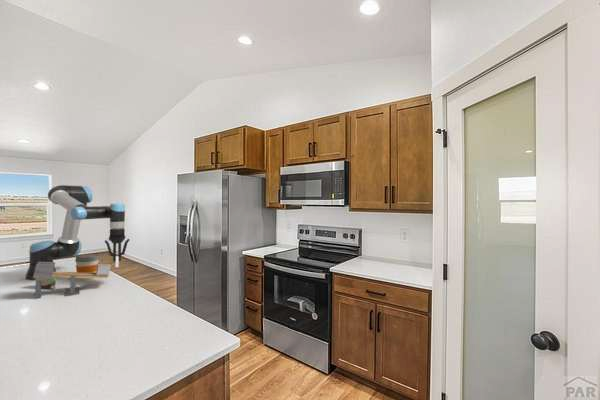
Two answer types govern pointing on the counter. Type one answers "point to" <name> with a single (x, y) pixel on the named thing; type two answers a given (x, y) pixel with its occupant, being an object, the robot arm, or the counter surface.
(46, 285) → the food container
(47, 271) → the balance beam
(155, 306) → the counter surface
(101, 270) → the block
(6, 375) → the counter surface
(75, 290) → the balance stand
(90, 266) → the reusable coffee cup
